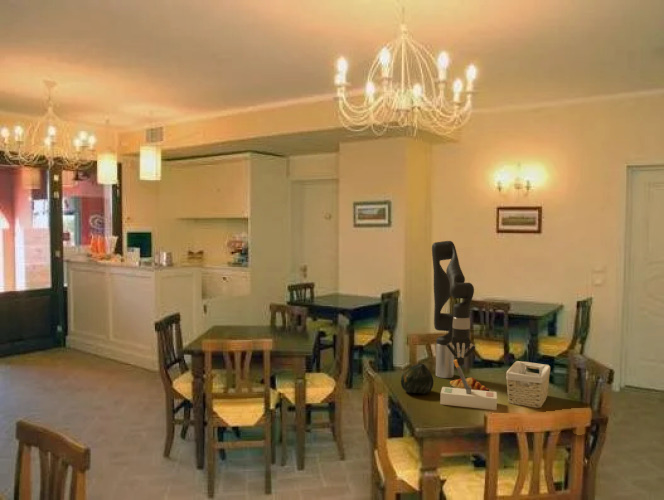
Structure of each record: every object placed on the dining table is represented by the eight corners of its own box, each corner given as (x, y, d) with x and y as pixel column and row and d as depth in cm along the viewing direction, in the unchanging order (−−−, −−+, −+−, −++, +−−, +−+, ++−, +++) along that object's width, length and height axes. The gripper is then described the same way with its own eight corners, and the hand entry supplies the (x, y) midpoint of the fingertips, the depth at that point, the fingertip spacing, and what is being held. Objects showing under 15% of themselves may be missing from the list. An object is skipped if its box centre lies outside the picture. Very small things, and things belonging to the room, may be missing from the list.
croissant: (446, 394, 269) (442, 381, 266) (456, 381, 275) (452, 368, 272) (486, 403, 255) (482, 390, 252) (495, 389, 261) (491, 376, 258)
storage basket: (542, 410, 237) (543, 376, 236) (503, 403, 245) (504, 371, 244) (550, 395, 258) (551, 364, 257) (515, 390, 266) (515, 360, 265)
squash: (395, 376, 267) (404, 358, 257) (423, 375, 271) (433, 358, 261) (402, 402, 257) (411, 384, 247) (431, 401, 261) (442, 384, 251)
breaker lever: (466, 390, 245) (453, 360, 246) (470, 389, 245) (456, 358, 246) (466, 391, 243) (453, 361, 244) (469, 390, 242) (456, 360, 244)
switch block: (443, 391, 262) (444, 376, 261) (496, 396, 255) (496, 381, 254) (440, 404, 243) (440, 388, 242) (496, 410, 236) (496, 394, 236)
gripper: (476, 326, 245) (476, 364, 246) (446, 324, 249) (446, 362, 250) (476, 329, 238) (475, 368, 239) (445, 327, 242) (445, 366, 243)
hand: (460, 365), depth 244 cm, fingers closed
